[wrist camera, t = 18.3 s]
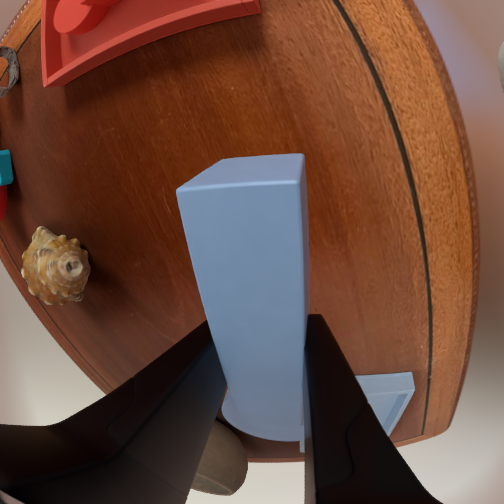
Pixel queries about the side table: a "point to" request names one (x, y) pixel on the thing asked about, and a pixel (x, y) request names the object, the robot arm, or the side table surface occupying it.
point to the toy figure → (4, 179)
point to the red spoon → (80, 15)
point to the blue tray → (386, 397)
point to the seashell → (55, 267)
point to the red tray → (125, 31)
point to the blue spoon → (254, 284)
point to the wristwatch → (10, 68)
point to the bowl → (221, 463)
